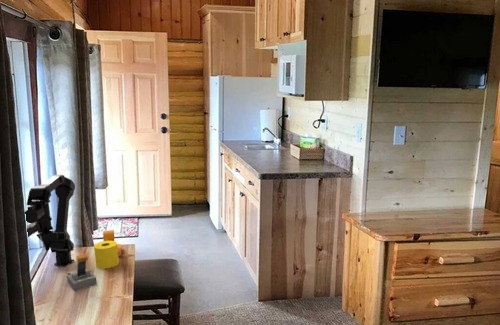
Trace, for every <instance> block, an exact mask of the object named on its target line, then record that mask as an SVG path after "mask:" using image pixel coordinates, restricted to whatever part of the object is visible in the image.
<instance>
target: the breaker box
mask: <svg viewBox="0 0 500 325" xmlns="http://www.w3.org/2000/svg"><path fill="white" fill-rule="evenodd" d="M70 274H71V275H66V277H67V278H66V279H67V283H68V285H69V286H70V287H71V289H72V290H73V291H74V292H76V291H80V290H83V289H86V288H90V287H94V286H97V285H98V282H97V277H96V275H94V273H93V272H92V271H91V269H90V268H86V270H85V275H83V276H79V277H78V276H77V271H76V272H75V271H74V272H72V273H70Z"/></svg>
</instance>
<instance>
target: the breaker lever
mask: <svg viewBox="0 0 500 325" xmlns="http://www.w3.org/2000/svg"><path fill="white" fill-rule="evenodd" d="M75 257H76V259H75V260H76V262H77V265H76V266H77V268H76V273H77V276H78V277H79V276H83V275H85V270H86V269H87V261H88V260H89V258H88V257H89V256H88V254H87V253H84V254H79V255H76V256H75Z"/></svg>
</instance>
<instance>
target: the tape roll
mask: <svg viewBox="0 0 500 325" xmlns="http://www.w3.org/2000/svg"><path fill="white" fill-rule="evenodd" d="M117 244H118V242H117V241H115V240H114V241H104V240H103V241H99V242H97V243H95V244H94V245H93V249H94V250H93V251H94V257H95V260H94V261H95V266H96V267H95V268H97V269H101V270H103V269H104V270H106V269H105V268H107V269H112V268H114V267H116V266H118V265H119V263H120V259H119V258H120V257H119V256H118V248H117ZM111 267H112V268H111Z"/></svg>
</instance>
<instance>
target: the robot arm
mask: <svg viewBox="0 0 500 325" xmlns="http://www.w3.org/2000/svg"><path fill="white" fill-rule="evenodd" d="M50 176H51V177H49V178H48V179H47V180H46V181H45V182H43V183H41V184H38V185H35V186H32V187H30V189H29V191H28V195H27V196H28V197H27V200H26V206H27V210H25V211H24V213H25V214H26V221H27V222H26V221H25V222H26V223H28V224H27V225H26V226H27V232H28V237H27V238H29V237H31V236H32V235H34V234H36V233H38V234H36V237H37V238H38V239H39V240H40V241H41V242H42V245H43V247H44V250H45V251H46V252H49V251H51V253H55V263H54V264H53V265H54V266H59V267H60V266H62V267H66V266H68V265H70V264H72V263H74V262H75V259H72V254H71V253H72V251H74V250H75V249H74V248H75V245H74V242H73V241H72V240H71V235H70V234H69V232H68V218H69V208H70V200H71V198H73V195H74V193H75V189H76V184H75V182H74V181H73V180H72V179H70V178H68V177H67V176H65V174H53V175H50ZM53 191H55V192H54V193H55V195H56V197H57V199H58V200H57V210H56V222H55V230H54V226H52V216H51V209H50V203H51V200H50V199H51V196H52V192H53Z"/></svg>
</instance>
